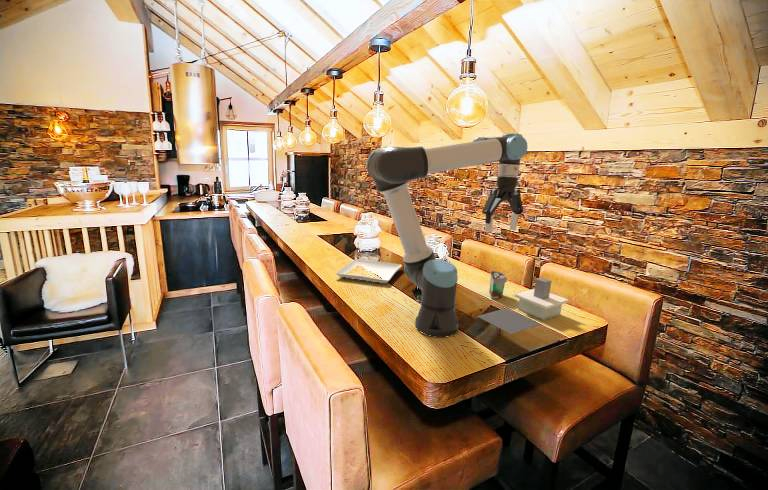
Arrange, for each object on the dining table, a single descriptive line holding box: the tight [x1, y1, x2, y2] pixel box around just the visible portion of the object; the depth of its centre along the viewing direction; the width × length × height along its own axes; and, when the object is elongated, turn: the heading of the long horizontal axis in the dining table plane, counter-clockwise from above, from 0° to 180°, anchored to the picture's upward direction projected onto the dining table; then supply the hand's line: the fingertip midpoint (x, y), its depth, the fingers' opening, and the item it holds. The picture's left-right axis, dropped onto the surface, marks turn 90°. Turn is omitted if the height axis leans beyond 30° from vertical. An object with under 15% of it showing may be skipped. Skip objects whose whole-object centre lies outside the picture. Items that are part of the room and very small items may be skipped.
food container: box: [489, 270, 508, 300], centre depth 155 cm, size 12×6×10 cm, turn 168°
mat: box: [476, 307, 541, 335], centre depth 132 cm, size 16×16×1 cm
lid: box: [514, 277, 569, 309], centre depth 138 cm, size 14×14×8 cm
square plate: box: [335, 258, 403, 284], centre depth 181 cm, size 27×27×4 cm
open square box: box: [518, 298, 563, 321], centre depth 140 cm, size 11×11×6 cm
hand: (500, 230), depth 140 cm, fingers open, 13 cm apart
